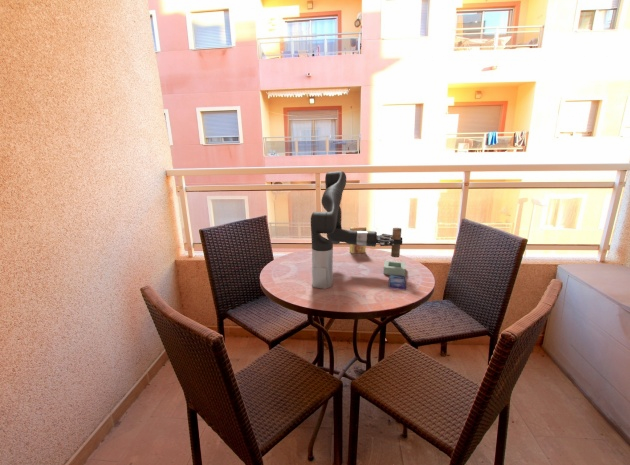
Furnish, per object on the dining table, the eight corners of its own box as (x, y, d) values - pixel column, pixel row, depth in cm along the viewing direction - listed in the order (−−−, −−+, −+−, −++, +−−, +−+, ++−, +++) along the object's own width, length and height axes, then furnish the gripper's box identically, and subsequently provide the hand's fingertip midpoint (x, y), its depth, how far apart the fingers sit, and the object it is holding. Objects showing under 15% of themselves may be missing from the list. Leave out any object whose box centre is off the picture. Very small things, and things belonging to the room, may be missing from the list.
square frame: (404, 276, 140) (405, 269, 140) (383, 273, 143) (383, 267, 142) (404, 268, 150) (405, 262, 149) (384, 266, 152) (384, 260, 152)
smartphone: (405, 275, 140) (406, 289, 126) (405, 277, 140) (406, 291, 126) (389, 274, 141) (389, 287, 127) (389, 275, 142) (389, 289, 128)
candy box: (363, 250, 179) (363, 226, 175) (365, 252, 175) (366, 227, 171) (349, 251, 177) (349, 227, 173) (351, 253, 173) (352, 228, 169)
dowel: (399, 257, 142) (401, 230, 138) (390, 257, 143) (392, 229, 140) (399, 255, 146) (401, 228, 142) (391, 254, 147) (392, 227, 143)
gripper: (365, 235, 139) (402, 237, 134) (368, 227, 152) (402, 229, 147) (364, 250, 141) (401, 253, 136) (367, 241, 154) (401, 244, 149)
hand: (402, 241), depth 142 cm, fingers closed on dowel, 4 cm apart
